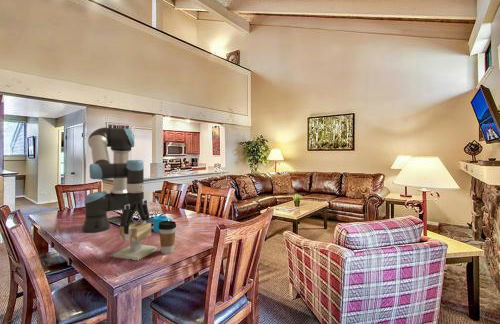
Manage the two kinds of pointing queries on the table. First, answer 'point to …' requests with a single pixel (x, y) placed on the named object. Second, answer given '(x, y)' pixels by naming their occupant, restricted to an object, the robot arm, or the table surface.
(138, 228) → the collar
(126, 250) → the base
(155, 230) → the mug
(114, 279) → the table surface
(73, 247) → the table surface
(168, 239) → the coffee cup
